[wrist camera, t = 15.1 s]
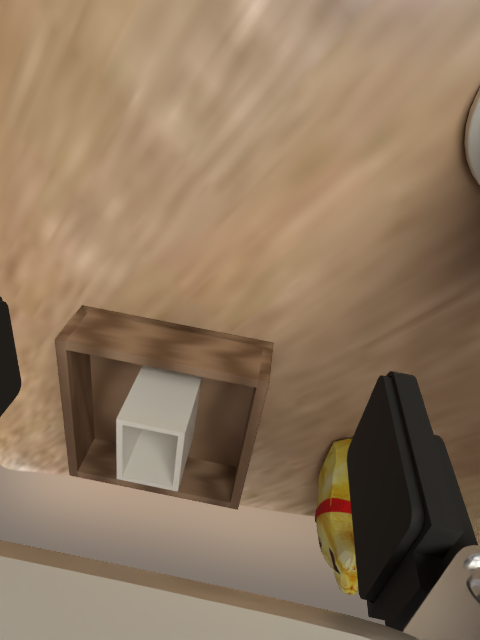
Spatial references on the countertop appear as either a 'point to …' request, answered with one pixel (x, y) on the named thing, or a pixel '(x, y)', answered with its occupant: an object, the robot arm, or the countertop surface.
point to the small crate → (157, 427)
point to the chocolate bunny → (337, 517)
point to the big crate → (170, 354)
